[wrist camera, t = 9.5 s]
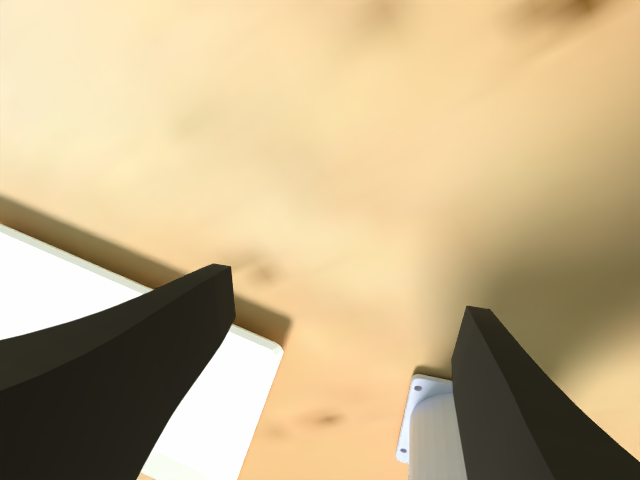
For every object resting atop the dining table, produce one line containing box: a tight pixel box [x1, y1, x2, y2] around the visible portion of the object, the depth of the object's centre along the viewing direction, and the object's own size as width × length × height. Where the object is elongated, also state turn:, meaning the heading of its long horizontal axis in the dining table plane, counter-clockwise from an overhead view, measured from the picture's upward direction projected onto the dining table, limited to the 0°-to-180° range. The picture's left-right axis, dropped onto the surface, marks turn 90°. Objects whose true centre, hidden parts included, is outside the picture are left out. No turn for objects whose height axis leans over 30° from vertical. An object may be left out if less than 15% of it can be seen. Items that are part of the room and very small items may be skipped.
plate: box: [0, 223, 284, 480], centre depth 32 cm, size 26×26×2 cm
